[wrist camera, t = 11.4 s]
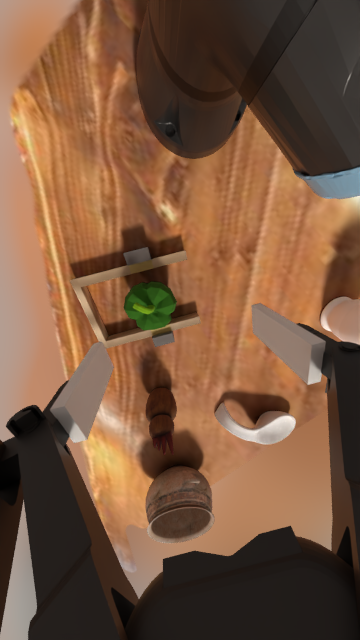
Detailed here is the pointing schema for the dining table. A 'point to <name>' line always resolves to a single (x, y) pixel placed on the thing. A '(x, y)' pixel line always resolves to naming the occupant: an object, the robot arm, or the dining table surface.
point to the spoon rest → (259, 426)
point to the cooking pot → (179, 505)
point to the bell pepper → (150, 305)
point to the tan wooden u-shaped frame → (135, 264)
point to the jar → (343, 319)
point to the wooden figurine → (161, 417)
